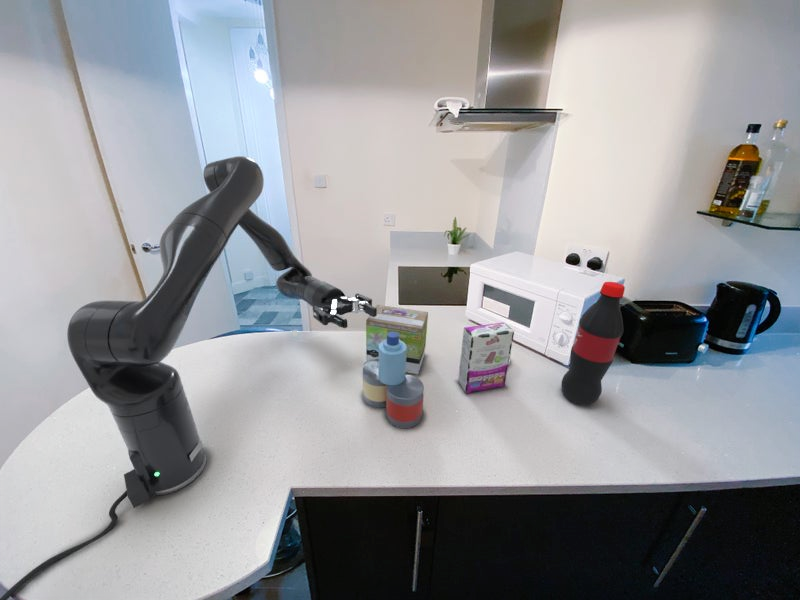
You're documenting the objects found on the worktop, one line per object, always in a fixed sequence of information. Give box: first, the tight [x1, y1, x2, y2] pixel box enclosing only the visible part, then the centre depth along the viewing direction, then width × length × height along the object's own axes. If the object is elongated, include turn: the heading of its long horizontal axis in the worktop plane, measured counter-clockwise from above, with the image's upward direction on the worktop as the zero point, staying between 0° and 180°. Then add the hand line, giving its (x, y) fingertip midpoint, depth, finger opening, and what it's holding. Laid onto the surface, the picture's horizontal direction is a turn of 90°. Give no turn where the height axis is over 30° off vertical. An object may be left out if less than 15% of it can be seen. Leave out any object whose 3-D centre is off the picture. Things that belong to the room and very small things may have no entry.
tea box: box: [365, 304, 429, 375], centre depth 87 cm, size 15×10×15 cm, turn 76°
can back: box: [362, 359, 387, 409], centre depth 75 cm, size 8×8×8 cm
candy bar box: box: [457, 321, 515, 394], centre depth 78 cm, size 11×5×16 cm, turn 105°
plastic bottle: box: [379, 331, 407, 385], centre depth 68 cm, size 6×6×11 cm
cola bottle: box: [560, 281, 626, 406], centre depth 72 cm, size 8×8×30 cm
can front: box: [385, 374, 425, 429], centre depth 69 cm, size 8×8×8 cm
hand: (361, 318), depth 73 cm, fingers open, 8 cm apart
